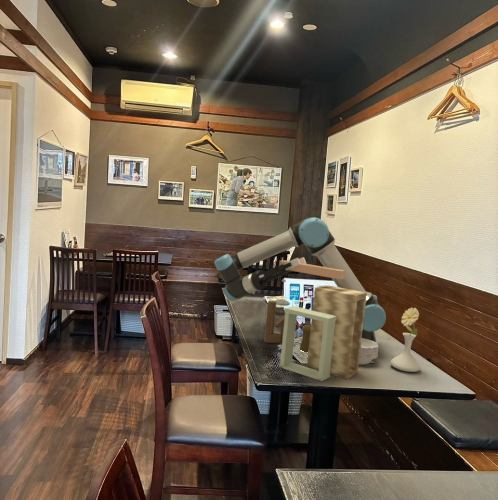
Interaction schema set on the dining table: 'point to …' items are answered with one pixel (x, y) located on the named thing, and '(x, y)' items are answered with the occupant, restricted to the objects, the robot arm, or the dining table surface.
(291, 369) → the pale green rectangular frame
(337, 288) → the birch stand
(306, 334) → the cork
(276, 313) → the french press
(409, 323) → the flower in vase
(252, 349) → the dining table surface
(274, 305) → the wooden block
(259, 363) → the dining table surface
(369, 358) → the paper bowls
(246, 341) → the dining table surface
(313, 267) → the salmon orange bar
